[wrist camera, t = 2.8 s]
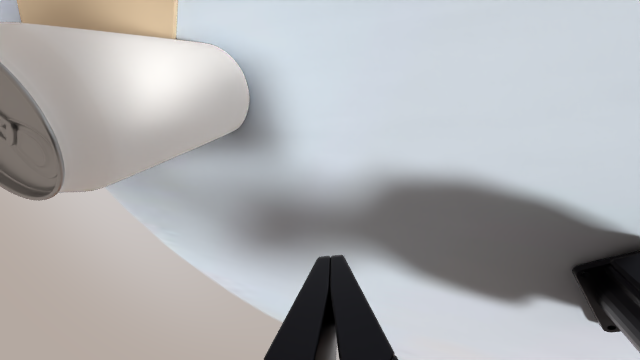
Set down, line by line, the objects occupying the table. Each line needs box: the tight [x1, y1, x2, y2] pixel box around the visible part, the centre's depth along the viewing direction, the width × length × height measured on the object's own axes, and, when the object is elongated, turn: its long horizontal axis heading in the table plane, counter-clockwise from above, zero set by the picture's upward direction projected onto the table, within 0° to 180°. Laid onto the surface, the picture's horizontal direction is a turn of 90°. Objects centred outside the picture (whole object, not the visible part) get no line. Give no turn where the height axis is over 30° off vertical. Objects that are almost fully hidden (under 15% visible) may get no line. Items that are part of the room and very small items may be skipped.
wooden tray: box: [17, 0, 178, 39], centre depth 19 cm, size 14×12×2 cm
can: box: [0, 22, 249, 200], centre depth 13 cm, size 6×6×12 cm
